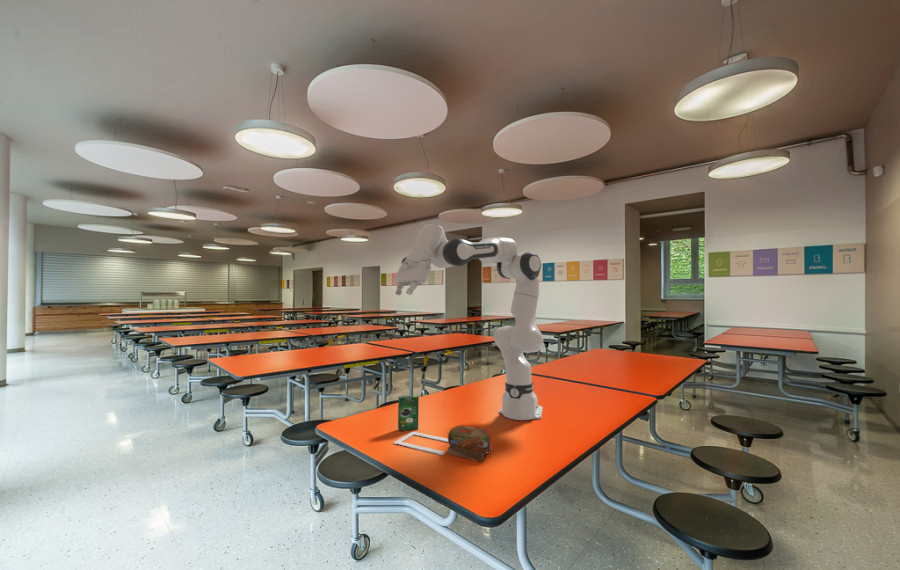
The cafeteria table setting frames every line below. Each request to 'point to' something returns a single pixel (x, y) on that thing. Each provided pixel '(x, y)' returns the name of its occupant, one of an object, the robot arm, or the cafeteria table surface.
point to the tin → (470, 438)
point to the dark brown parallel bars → (466, 453)
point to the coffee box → (408, 412)
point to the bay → (421, 446)
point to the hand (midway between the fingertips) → (402, 294)
